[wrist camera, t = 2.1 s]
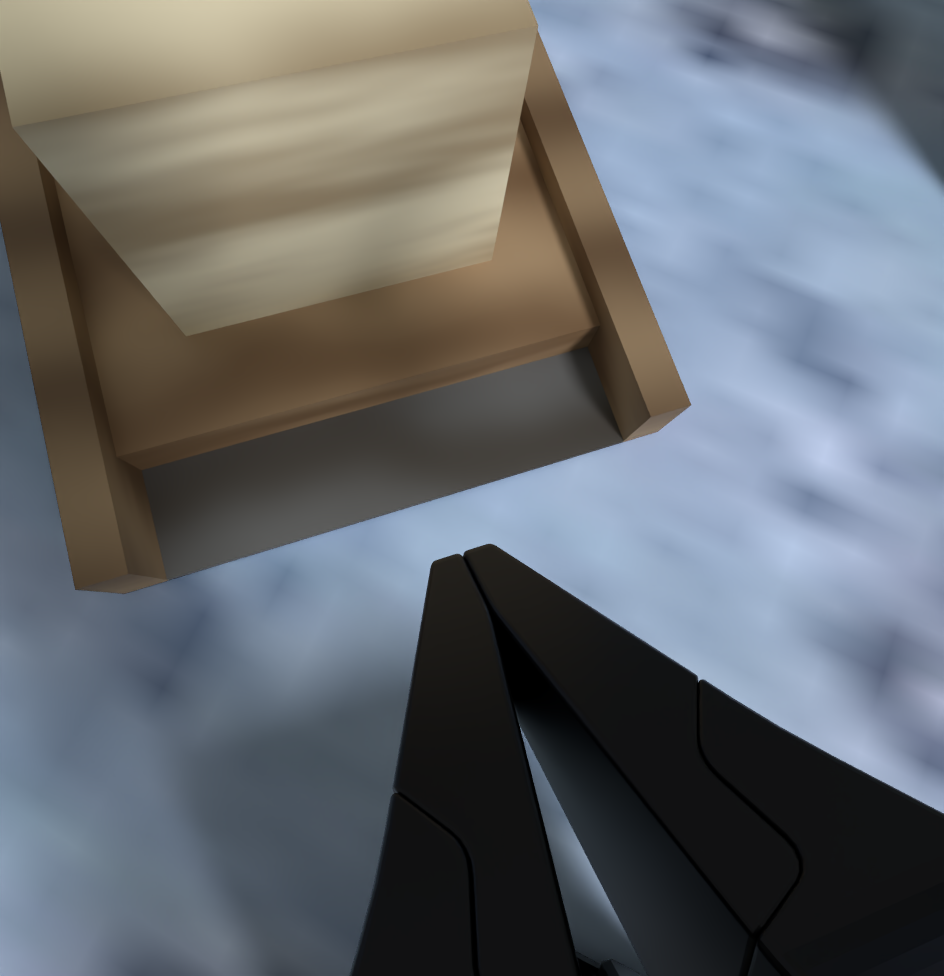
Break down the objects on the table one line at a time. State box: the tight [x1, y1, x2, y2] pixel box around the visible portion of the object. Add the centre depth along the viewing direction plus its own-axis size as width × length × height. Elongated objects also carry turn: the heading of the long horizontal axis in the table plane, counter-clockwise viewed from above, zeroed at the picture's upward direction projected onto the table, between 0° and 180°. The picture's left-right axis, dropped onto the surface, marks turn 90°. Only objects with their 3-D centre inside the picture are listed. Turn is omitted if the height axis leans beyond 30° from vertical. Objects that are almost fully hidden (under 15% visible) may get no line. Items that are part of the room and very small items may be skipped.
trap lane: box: [0, 30, 691, 594], centre depth 23 cm, size 36×20×4 cm, turn 18°
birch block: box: [0, 0, 538, 336], centre depth 18 cm, size 11×11×9 cm
